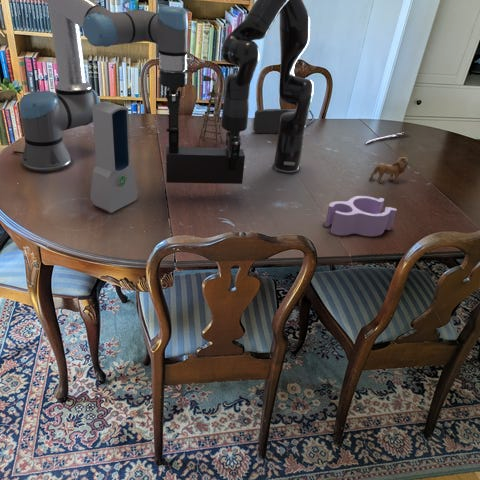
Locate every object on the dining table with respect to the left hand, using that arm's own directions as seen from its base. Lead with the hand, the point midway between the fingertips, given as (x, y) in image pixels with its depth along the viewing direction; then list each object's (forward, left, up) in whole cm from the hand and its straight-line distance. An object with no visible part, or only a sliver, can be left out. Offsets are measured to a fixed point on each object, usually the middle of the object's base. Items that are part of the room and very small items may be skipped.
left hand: (173, 144), depth 138 cm
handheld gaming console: (+29, +73, -18) cm, 81 cm away
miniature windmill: (+3, +48, -18) cm, 51 cm away
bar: (+9, +2, -11) cm, 15 cm away
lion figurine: (+72, +36, -18) cm, 83 cm away
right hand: (+17, +4, -6) cm, 19 cm away
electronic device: (-16, -9, -18) cm, 25 cm away
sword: (+79, +83, -18) cm, 116 cm away
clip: (+58, -2, -18) cm, 61 cm away
